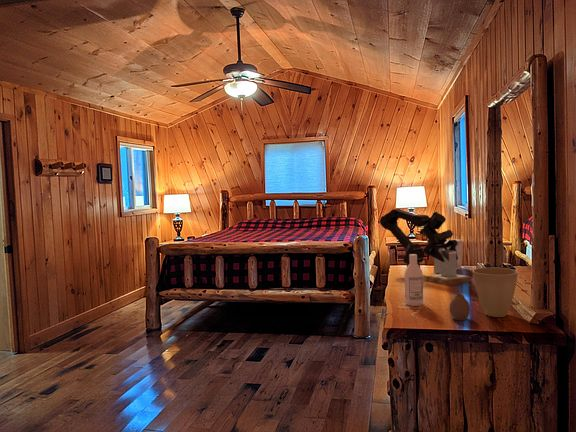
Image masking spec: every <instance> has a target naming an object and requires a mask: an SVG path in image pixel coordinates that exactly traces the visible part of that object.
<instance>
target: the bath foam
mask: <svg viewBox="0 0 576 432" xmlns="http://www.w3.org/2000/svg"><path fill="white" fill-rule="evenodd" d="M409 261H410V264H409V265H408V267H407V266H406V268H405V271H404V298H405V299H404V302H405V304H406V305H407V306H409V307H410V306H411V307H419V306H423V304H424V281H423V280H424V276H423V271H422V269H421V266H420V267H419V266H418V264H417V255H416V254H410V255H409Z"/></svg>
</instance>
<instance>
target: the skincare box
mask: <svg viewBox="0 0 576 432" xmlns="http://www.w3.org/2000/svg"><path fill="white" fill-rule="evenodd" d="M449 240H450V239H447V241H446V242H445V244H446V243H447V242H448V241H449ZM451 240H456V241H457V242H458V244H457V246H456V253H457V256H458V259H457V260H456V271H457V270H459V269H462V267H463V265H462V264H463V263H462V262H463V260H462V259H463V239H458V238H452V239H451ZM441 251H445V249H444V248H442V249H439V252H440V254H441ZM433 273H434V274H441V261H440V260H438V259H436V258H434V257H433Z"/></svg>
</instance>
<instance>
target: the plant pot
mask: <svg viewBox="0 0 576 432" xmlns="http://www.w3.org/2000/svg"><path fill="white" fill-rule="evenodd" d="M518 274H519V272H518V270H516V269H513V268H512V269H511V268H507V267H479V268H474V269H473V270H472V275H473V280H474V286H475V289H476V294H477V297H478V300H479V303H480V306H481V308H482V311H483V313H484V315H485V316H487V315H488V316H487V317H491V316H492V317H491V318H504V317H506V315H507V316H508V313H509V311H510V308H511V305H512V303H513V300H514V295H515V292H516V291H515V290H516V288H517V282H518Z"/></svg>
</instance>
